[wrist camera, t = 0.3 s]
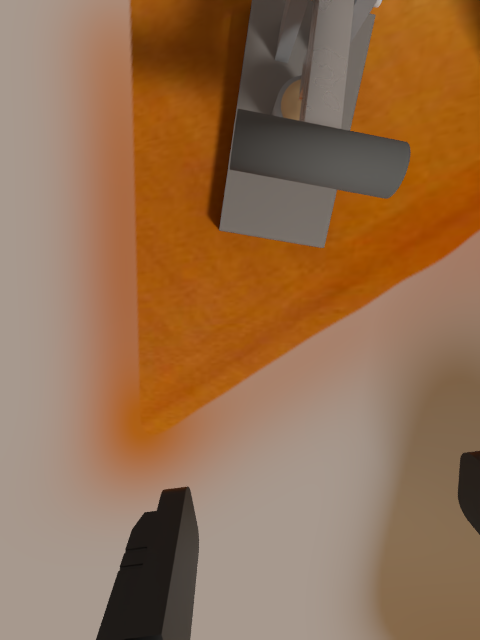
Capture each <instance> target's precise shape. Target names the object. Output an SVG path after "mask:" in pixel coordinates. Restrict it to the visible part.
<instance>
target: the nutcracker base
mask: <svg viewBox="0 0 480 640" xmlns="http://www.w3.org/2000/svg"><path fill="white" fill-rule="evenodd" d="M381 2H382V0H354V8H353V18H352V28H351V37H350V47H349V57H348V67H347V76H346V86H345V96H344V106H343V115H342V125H341V129H343V130H348V131H350V128H351V123H352V119H353V114H354V110H355V105H356V101H357V96H358V92H359V87H360V83H361V78H362V74H363V69H364V65H365V60H366V56H367V51H368V47H369V42H370V38H371V33H372V28H373V24H374V19H375V15H374V14H369V13H370V11H371V10H372V8H373V7H377V8H378V7H379V6H380V4H381ZM312 12H313V1H312V0H252V5H251V12H250V18H249V25H248V32H247V39H246V46H245V53H244V60H243V67H242V74H241V81H240V88H239V95H238V102H237V109H236V116H235V123H236V117H237V111H238V109H243V110H248V111H253V112H258V113H263V114H268V115H273V116H278V117H283V118H288V119H293V120H298V121H299V117H300V109H301V101H300V100H299V92H300V84H301V76H302V68H303V62H304V58H305V55H306V52H307V49H308V45H309V37H310V29H311V21H312ZM235 123H234V130H235ZM234 130H233V137H234ZM233 137H232V144H231V151H230V158H229V165H228V172H227V179H226V186H225V193H224V200H223V207H222V214H221V221H220V228H219V230H220V231H226V232H232V233H238V234H243V235H249V236H255V237H261V238H267V239H273V240H279V241H284V242H290V243H296V244H302V245H308V246H314V247H320V248H324V246H325V241H326V237H327V232H328V228H329V223H330V218H331V214H332V209H333V205H334V200H335V196H336V191H337V189H332V188H326V187H321V186H316V185H310V184H305V183H299V182H294V181H289V180H283V179H278V178H272V177H267V176H261V175H256V174H251V173H245V172H240V171H234V170H230V160H231V152H232V145H233Z"/></svg>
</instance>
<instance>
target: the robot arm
mask: <svg viewBox="0 0 480 640" xmlns="http://www.w3.org/2000/svg"><path fill="white" fill-rule="evenodd" d="M458 500H459V504H460V507H461V509H462V511H463V513H464V515H465V517H466V518H467V520H468V521H469V522H470V523H471V525H472V526H473V527H474V528H475V530H476V531H477V532H478V533H479V534H480V451H475V452H467V453H463V454H462V456H461V458H460V471H459V485H458ZM198 553H199V534H198V526H197V521H196V516H195V511H194V506H193V501H192V496H191V492H190V488H189V487H181V488H174V489H166V490H163V491H162V494H161V497H160V500H159V504H158V508H157V511H152V512H145V513H144V514H143V515H142V517H141V518H140V519H139V521H138V522H137V524H136V525H135V526H134V528H133V529H132V531H131V534H130V537H129V540H128V543H127V547H126V552H125V554H124V556H123V559H122V562H121V565H120V571H118V574H117V577H116V580H115V583H114V586H113V590H112V592H111V595H110V598H109V601H108V604H107V608H106V611H105V614H104V617H103V620H102V623H101V626H100V629H99V632H98V635H97V638H96V640H190V635H191V625H192V615H193V604H194V594H195V583H196V573H197V563H198Z"/></svg>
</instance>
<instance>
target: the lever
mask: <svg viewBox="0 0 480 640" xmlns="http://www.w3.org/2000/svg"><path fill="white" fill-rule="evenodd" d="M353 8H354V0H313V12H312V21H311V29H310V37H309V45H308V49H307V52H306V55H305V58H304V62H303V68H302V76H301V84H300V92H299V100H300V101H301V109H300V117H299V121H298V120H293V119H288V118H283V117H278V116H273V115H268V114H263V113H258V112H253V111H248V110H243V109H238V111H237V117H236V123H235V130H234V137H233V145H232V152H231V160H230V170H234V171H240V172H245V173H251V174H256V175H261V176H267V177H272V178H278V179H283V180H289V181H294V182H299V183H305V184H310V185H316V186H321V187H326V188H332V189H337V190H343V191H348V192H353V193H359V194H364V195H370V196H375V197H380V198H389V197H391V196H392V195H393V194H394V193H395V192H396V191H397V189H398V188H399V186H400V184H401V183H402V181H403V179H404V176H405V174H406V171H407V168H408V165H409V160H410V146H409V144H408V143H407V142H404V141H399V140H394V139H389V138H384V137H379V136H374V135H369V134H364V133H359V132H354V131H348V130H343V129H341V125H342V115H343V106H344V96H345V86H346V76H347V67H348V57H349V47H350V37H351V28H352V18H353Z"/></svg>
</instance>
